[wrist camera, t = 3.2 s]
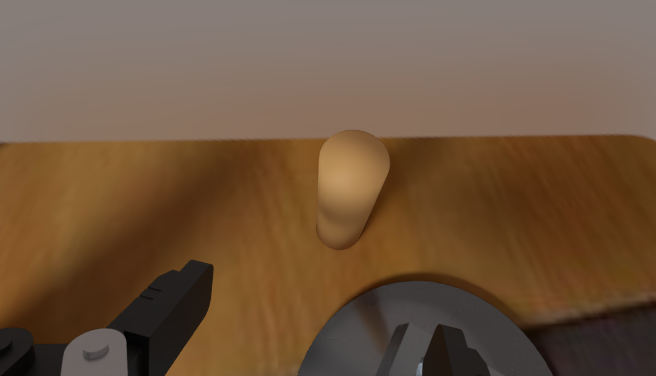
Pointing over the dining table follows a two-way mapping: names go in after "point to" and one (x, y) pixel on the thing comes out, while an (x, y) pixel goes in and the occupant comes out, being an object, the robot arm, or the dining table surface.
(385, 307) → the grey handled frame
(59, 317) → the dining table surface
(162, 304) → the robot arm
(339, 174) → the wedge pin
